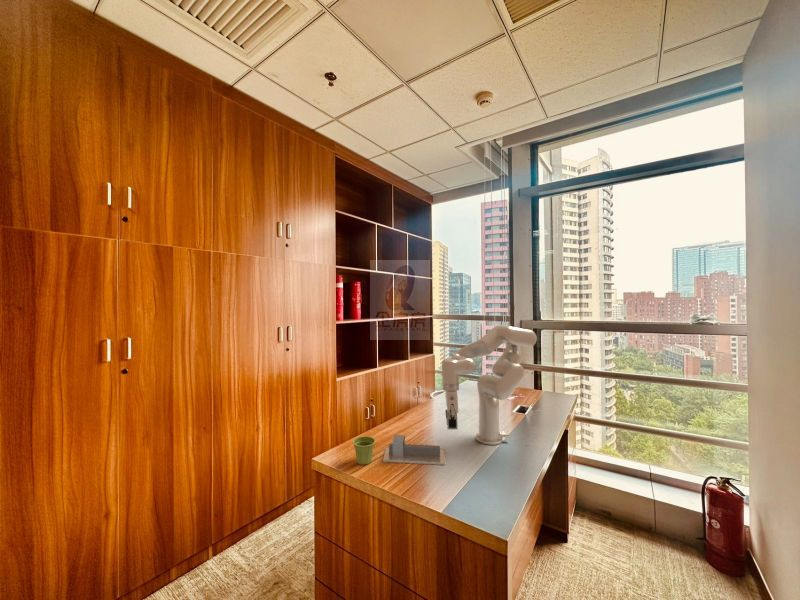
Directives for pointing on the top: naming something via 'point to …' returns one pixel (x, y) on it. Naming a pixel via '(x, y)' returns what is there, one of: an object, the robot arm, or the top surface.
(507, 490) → the top surface
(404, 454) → the rail
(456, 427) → the grey block
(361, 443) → the plant pot
